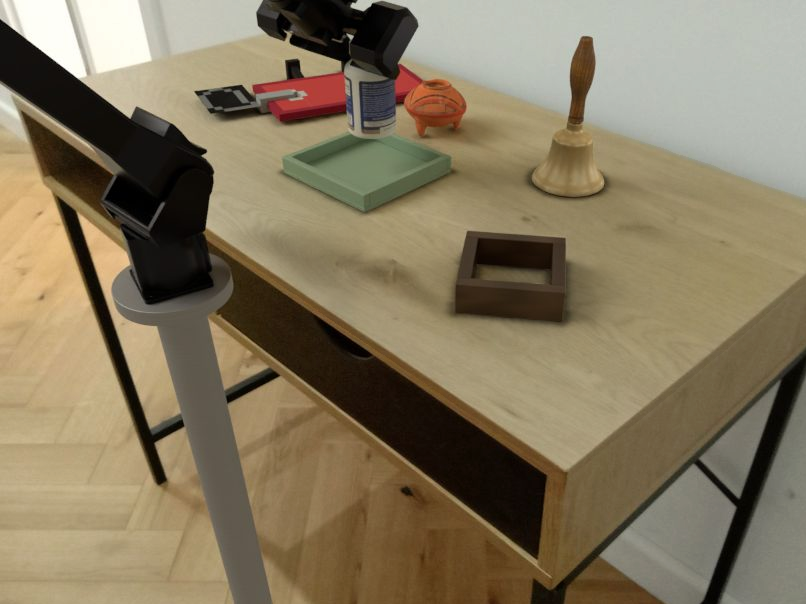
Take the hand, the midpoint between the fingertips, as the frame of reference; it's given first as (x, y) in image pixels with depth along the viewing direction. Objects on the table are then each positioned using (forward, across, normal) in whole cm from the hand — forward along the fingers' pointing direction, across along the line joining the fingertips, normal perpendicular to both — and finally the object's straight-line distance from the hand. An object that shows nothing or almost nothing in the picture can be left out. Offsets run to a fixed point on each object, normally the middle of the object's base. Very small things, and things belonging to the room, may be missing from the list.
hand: (379, 69), depth 84 cm
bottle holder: (+2, -27, +15) cm, 31 cm away
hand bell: (+17, -18, -1) cm, 24 cm away
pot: (+17, +3, -1) cm, 17 cm away
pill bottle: (+4, 0, +6) cm, 7 cm away
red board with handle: (+14, +23, +2) cm, 27 cm away
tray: (+7, 0, +10) cm, 12 cm away
